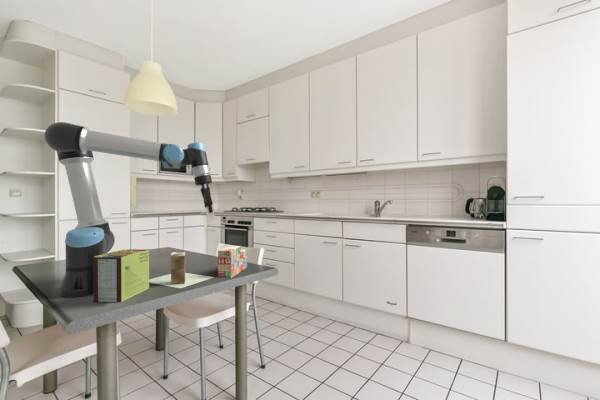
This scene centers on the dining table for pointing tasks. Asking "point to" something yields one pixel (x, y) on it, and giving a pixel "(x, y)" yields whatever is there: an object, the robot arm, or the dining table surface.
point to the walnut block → (177, 268)
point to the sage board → (189, 280)
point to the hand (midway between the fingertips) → (211, 220)
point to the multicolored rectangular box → (231, 261)
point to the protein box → (120, 275)
